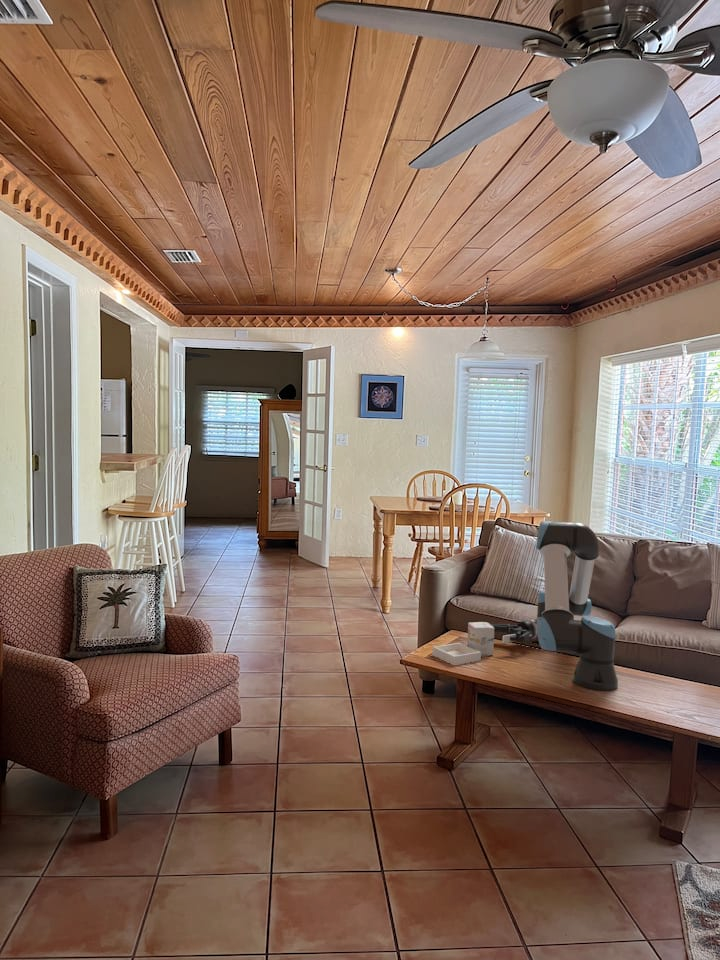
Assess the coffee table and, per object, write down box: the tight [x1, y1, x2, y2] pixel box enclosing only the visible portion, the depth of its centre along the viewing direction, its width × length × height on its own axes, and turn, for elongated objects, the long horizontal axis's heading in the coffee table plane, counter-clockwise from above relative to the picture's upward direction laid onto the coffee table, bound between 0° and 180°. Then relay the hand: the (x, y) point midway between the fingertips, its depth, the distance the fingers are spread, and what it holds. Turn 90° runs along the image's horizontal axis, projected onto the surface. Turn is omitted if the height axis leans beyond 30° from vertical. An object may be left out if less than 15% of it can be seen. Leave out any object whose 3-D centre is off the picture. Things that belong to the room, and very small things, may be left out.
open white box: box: [432, 642, 482, 666], centre depth 259 cm, size 13×14×4 cm
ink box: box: [466, 621, 495, 657], centre depth 267 cm, size 9×8×12 cm
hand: (491, 634), depth 271 cm, fingers open, 13 cm apart
